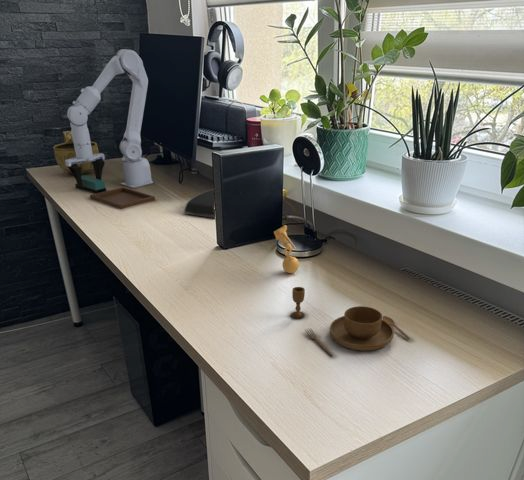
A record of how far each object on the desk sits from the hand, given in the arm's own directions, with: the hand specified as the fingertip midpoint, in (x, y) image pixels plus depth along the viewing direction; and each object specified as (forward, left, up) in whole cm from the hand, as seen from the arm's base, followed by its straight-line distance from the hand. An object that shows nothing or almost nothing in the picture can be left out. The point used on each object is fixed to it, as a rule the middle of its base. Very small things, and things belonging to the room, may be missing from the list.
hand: (89, 183), depth 188 cm
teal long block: (0, 0, -2) cm, 2 cm away
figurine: (+10, +102, -2) cm, 103 cm away
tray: (0, +20, -2) cm, 20 cm away
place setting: (+22, +128, -2) cm, 130 cm away
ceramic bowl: (-11, -26, -2) cm, 28 cm away
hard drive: (-14, +51, -2) cm, 53 cm away
